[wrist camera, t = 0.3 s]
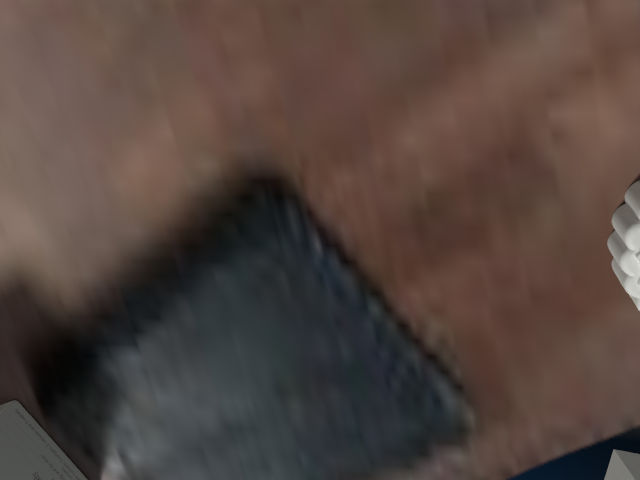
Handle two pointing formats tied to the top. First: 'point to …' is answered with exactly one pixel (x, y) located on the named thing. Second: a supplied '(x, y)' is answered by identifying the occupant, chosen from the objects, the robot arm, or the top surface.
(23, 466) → the supplement box
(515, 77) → the top surface
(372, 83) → the top surface
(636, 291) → the mooncake
